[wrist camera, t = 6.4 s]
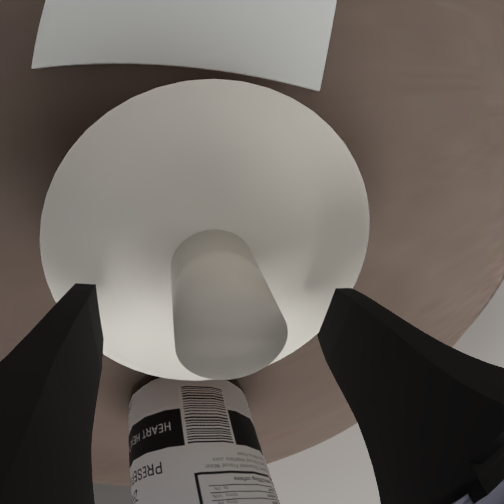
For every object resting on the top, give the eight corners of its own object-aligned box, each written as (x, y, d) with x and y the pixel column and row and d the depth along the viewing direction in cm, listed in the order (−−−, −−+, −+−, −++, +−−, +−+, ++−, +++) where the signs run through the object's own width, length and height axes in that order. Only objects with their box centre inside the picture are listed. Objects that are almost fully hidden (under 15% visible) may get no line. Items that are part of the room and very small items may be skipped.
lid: (73, 363, 12) (60, 443, 8) (48, 74, 7) (-31, 72, 3) (312, 359, 15) (346, 426, 12) (391, 123, 10) (480, 151, 6)
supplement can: (247, 418, 22) (304, 583, 10) (149, 433, 21) (175, 602, 8) (239, 355, 18) (323, 593, 6) (111, 374, 17) (125, 612, 4)
